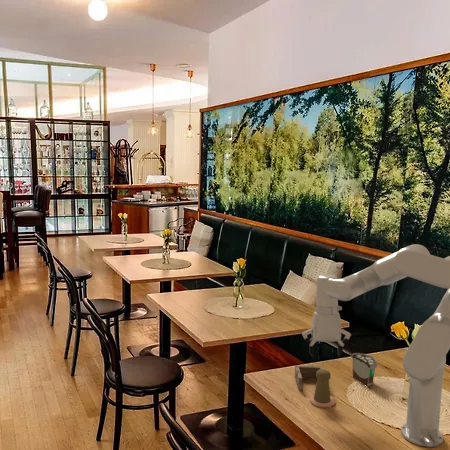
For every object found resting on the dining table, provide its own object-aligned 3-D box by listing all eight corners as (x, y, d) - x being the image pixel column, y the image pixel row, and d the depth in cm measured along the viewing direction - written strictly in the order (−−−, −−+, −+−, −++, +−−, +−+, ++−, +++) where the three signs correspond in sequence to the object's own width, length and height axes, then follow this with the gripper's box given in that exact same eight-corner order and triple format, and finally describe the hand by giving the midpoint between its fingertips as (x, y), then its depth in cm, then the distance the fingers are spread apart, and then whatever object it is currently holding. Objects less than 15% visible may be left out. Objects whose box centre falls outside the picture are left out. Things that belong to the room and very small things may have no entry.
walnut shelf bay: (327, 391, 183) (327, 378, 182) (298, 390, 183) (299, 377, 182) (321, 378, 194) (322, 366, 193) (294, 377, 194) (295, 365, 193)
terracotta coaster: (337, 408, 170) (337, 405, 170) (311, 407, 170) (311, 404, 170) (331, 396, 179) (332, 393, 179) (307, 395, 179) (308, 392, 179)
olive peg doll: (333, 402, 172) (335, 373, 171) (318, 404, 170) (319, 374, 169) (325, 394, 178) (326, 366, 176) (310, 396, 176) (312, 367, 175)
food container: (382, 386, 187) (384, 362, 186) (369, 389, 185) (371, 364, 184) (362, 374, 199) (364, 351, 197) (350, 376, 196) (351, 352, 195)
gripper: (348, 306, 174) (347, 352, 175) (301, 306, 174) (300, 351, 176) (353, 312, 166) (352, 360, 168) (304, 312, 166) (303, 359, 168)
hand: (325, 355), depth 172 cm, fingers open, 9 cm apart
